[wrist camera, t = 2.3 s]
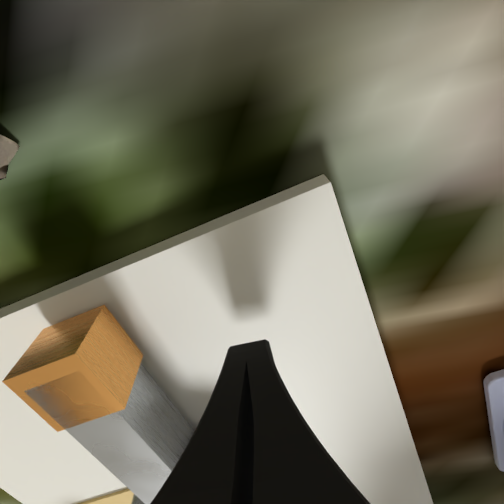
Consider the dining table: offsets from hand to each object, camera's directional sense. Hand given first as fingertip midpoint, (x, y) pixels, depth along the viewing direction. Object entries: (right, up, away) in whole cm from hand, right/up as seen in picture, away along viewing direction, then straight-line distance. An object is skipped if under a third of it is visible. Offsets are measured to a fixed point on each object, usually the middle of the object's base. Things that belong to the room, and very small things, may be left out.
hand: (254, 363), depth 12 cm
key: (-4, -4, +4) cm, 7 cm away
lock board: (-2, -7, +6) cm, 10 cm away
